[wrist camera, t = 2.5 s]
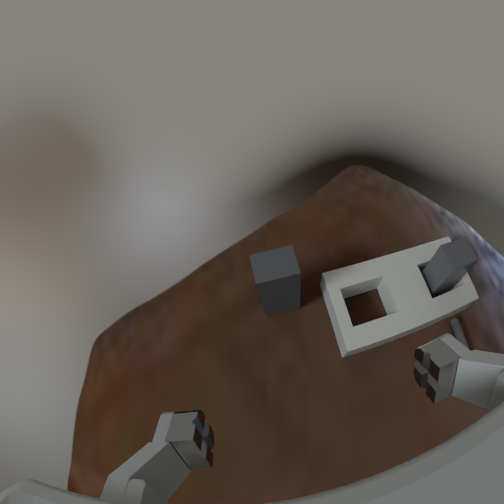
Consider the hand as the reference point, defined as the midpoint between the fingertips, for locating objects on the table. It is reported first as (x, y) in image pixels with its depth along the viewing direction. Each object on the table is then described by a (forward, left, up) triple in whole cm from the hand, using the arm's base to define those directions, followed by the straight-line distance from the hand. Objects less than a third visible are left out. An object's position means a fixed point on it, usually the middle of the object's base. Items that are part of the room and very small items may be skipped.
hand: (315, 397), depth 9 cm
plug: (+12, 0, -21) cm, 24 cm away
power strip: (+3, -14, -21) cm, 25 cm away
